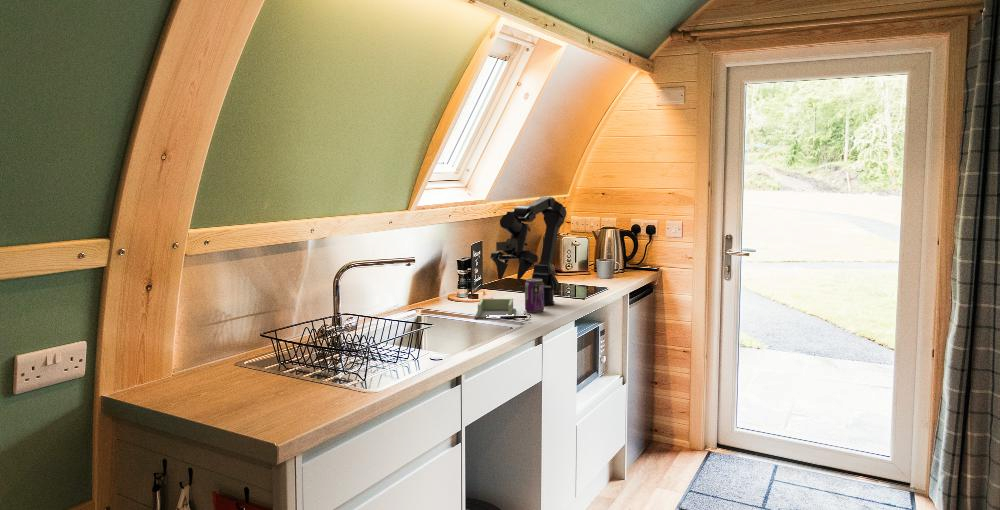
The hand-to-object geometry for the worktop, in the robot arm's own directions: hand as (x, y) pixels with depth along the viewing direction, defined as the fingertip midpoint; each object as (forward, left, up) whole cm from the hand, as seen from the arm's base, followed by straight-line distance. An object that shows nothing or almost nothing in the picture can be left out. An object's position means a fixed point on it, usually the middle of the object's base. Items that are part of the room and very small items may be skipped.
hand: (508, 279), depth 278 cm
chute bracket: (-6, -5, -14) cm, 16 cm away
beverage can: (-12, +9, -14) cm, 20 cm away
